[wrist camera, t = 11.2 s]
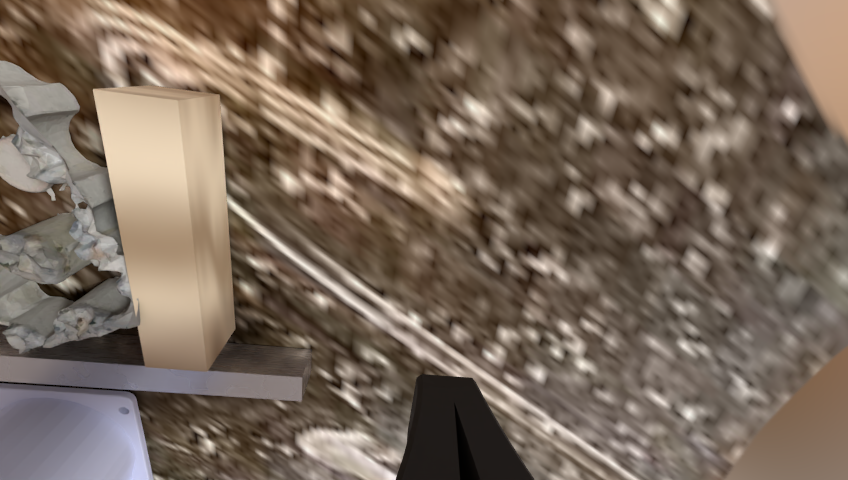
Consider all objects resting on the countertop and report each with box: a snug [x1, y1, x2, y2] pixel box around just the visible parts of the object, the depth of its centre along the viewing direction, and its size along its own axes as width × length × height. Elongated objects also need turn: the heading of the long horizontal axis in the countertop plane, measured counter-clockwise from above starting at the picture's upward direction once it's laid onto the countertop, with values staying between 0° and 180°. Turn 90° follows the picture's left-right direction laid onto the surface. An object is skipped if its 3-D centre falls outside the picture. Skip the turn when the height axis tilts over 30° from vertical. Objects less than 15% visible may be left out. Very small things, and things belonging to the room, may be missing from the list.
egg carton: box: [0, 61, 140, 354], centre depth 15 cm, size 11×8×4 cm
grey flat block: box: [0, 325, 312, 401], centre depth 16 cm, size 14×18×3 cm
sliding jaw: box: [93, 86, 236, 372], centre depth 16 cm, size 11×2×3 cm, turn 172°
